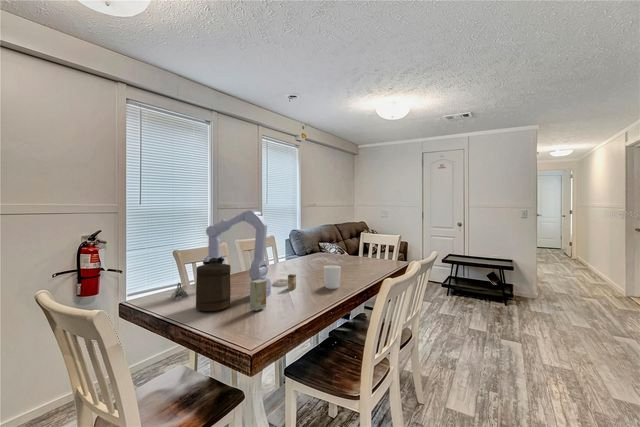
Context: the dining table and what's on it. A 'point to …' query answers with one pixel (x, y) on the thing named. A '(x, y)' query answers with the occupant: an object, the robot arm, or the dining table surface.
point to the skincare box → (257, 294)
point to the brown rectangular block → (291, 282)
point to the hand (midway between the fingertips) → (214, 273)
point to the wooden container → (213, 286)
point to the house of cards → (178, 293)
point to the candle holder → (332, 276)
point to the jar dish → (280, 282)
